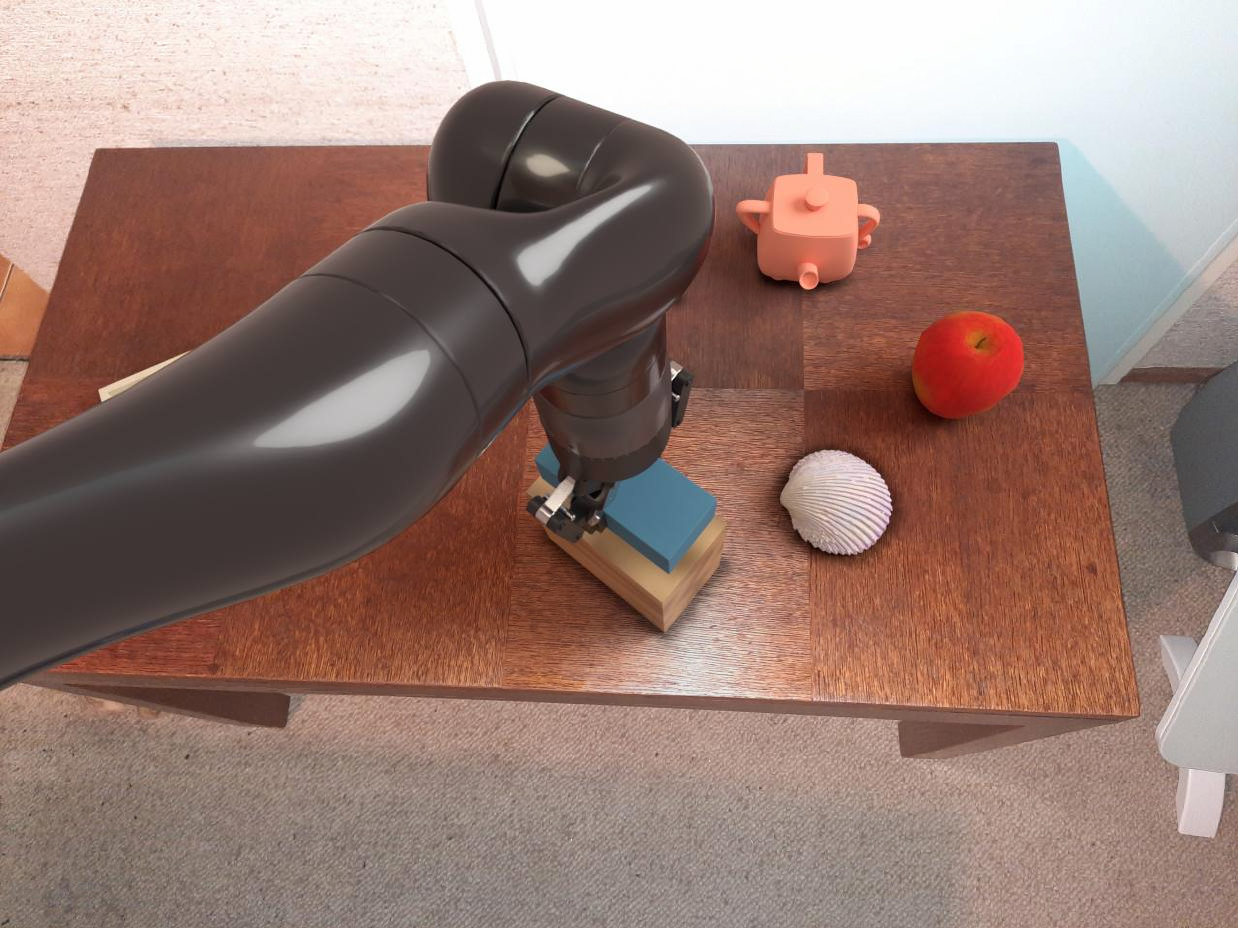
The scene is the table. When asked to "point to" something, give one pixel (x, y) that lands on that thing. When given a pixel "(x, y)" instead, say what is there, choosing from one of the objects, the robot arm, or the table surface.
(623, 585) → the tan wooden block
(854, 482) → the seashell
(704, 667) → the table surface
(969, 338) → the apple
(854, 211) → the teapot
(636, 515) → the blue rectangular block
